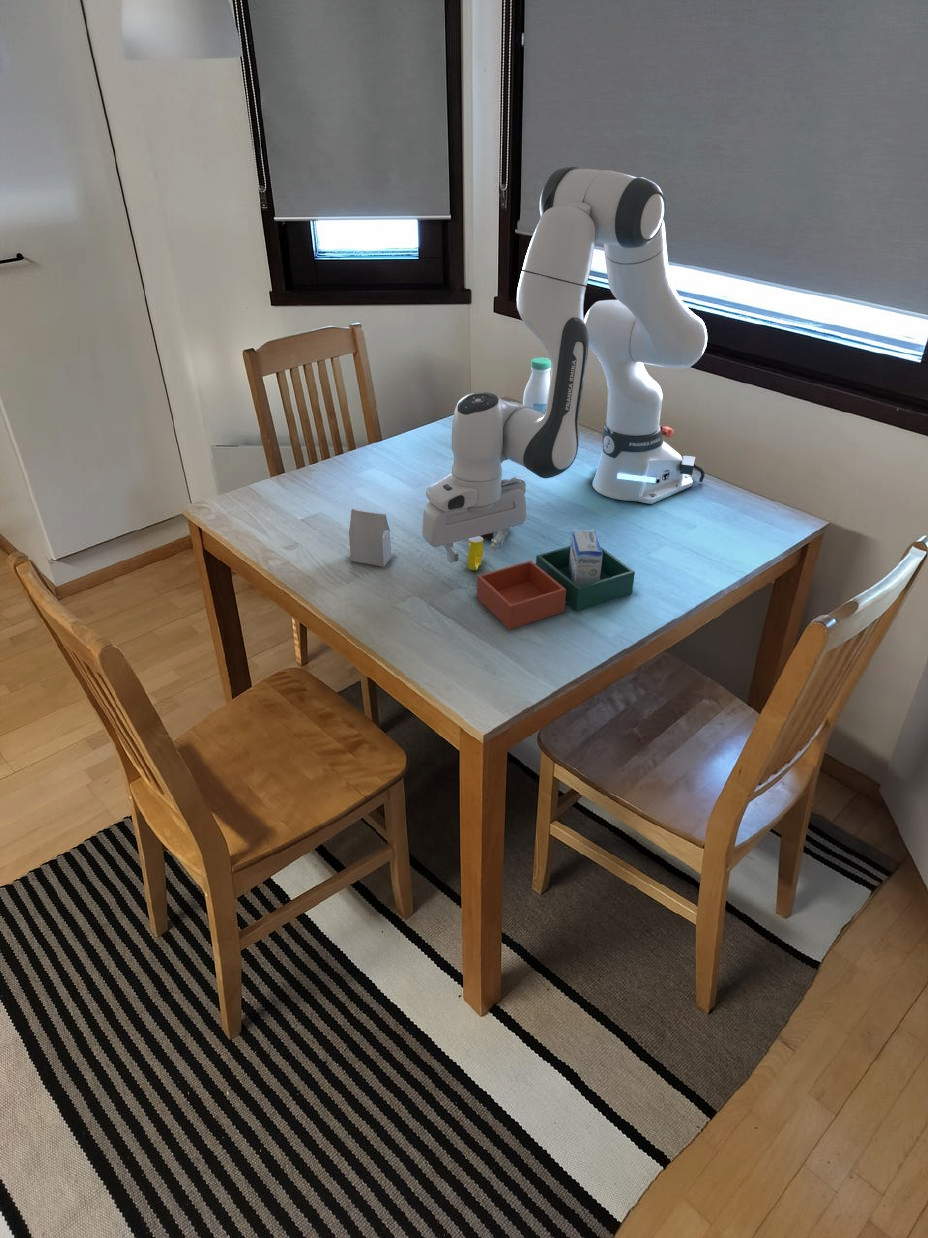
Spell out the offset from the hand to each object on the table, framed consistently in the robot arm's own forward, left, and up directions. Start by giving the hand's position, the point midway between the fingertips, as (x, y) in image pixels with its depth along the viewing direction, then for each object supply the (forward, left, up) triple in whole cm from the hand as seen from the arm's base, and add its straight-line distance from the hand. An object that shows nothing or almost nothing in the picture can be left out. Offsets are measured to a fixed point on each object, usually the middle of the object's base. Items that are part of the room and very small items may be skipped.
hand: (475, 554), depth 162 cm
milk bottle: (-43, -45, -3) cm, 63 cm away
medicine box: (-14, +15, -2) cm, 21 cm away
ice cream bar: (-7, -14, -3) cm, 16 cm away
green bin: (-14, +15, -3) cm, 21 cm away
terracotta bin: (-1, +15, -3) cm, 15 cm away
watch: (0, 0, -3) cm, 3 cm away
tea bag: (+16, -12, -3) cm, 20 cm away
